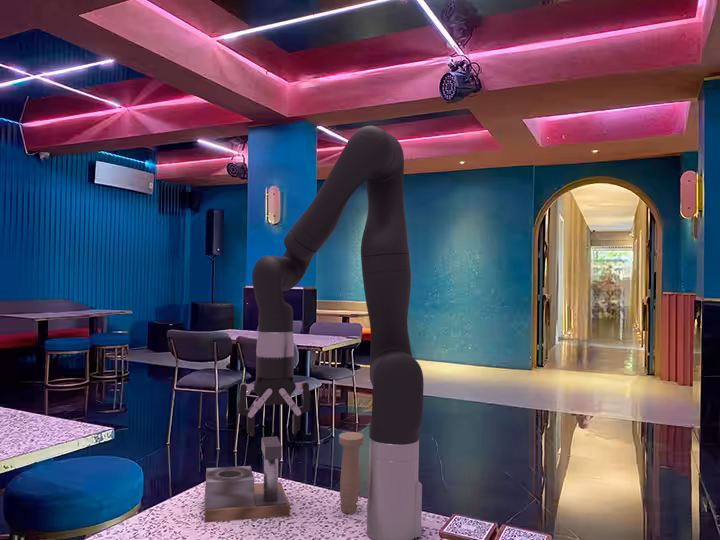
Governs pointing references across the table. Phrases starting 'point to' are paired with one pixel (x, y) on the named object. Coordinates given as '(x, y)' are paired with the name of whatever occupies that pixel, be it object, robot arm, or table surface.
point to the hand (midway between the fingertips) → (273, 434)
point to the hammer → (271, 466)
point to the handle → (350, 470)
